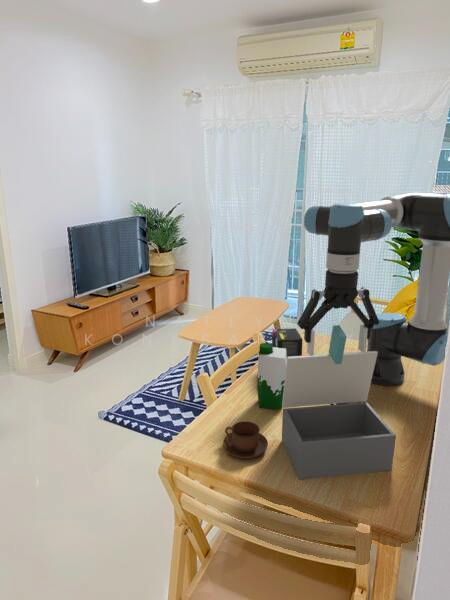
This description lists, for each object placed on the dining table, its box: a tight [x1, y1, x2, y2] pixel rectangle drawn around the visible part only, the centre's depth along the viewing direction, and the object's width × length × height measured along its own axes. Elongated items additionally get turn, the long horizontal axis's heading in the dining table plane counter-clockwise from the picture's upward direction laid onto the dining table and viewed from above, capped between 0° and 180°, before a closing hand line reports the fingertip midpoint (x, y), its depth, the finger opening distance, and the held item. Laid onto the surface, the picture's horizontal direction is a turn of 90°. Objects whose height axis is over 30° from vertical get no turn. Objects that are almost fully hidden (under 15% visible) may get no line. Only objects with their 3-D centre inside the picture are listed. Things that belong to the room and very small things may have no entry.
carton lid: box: [282, 325, 378, 409], centre depth 114 cm, size 24×25×5 cm
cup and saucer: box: [222, 420, 268, 460], centre depth 118 cm, size 12×12×6 cm
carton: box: [281, 401, 397, 481], centre depth 114 cm, size 24×16×10 cm, turn 98°
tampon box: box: [271, 328, 304, 357], centre depth 162 cm, size 11×9×15 cm
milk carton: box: [257, 342, 287, 411], centre depth 138 cm, size 9×9×20 cm
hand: (336, 352), depth 111 cm, fingers open, 13 cm apart
